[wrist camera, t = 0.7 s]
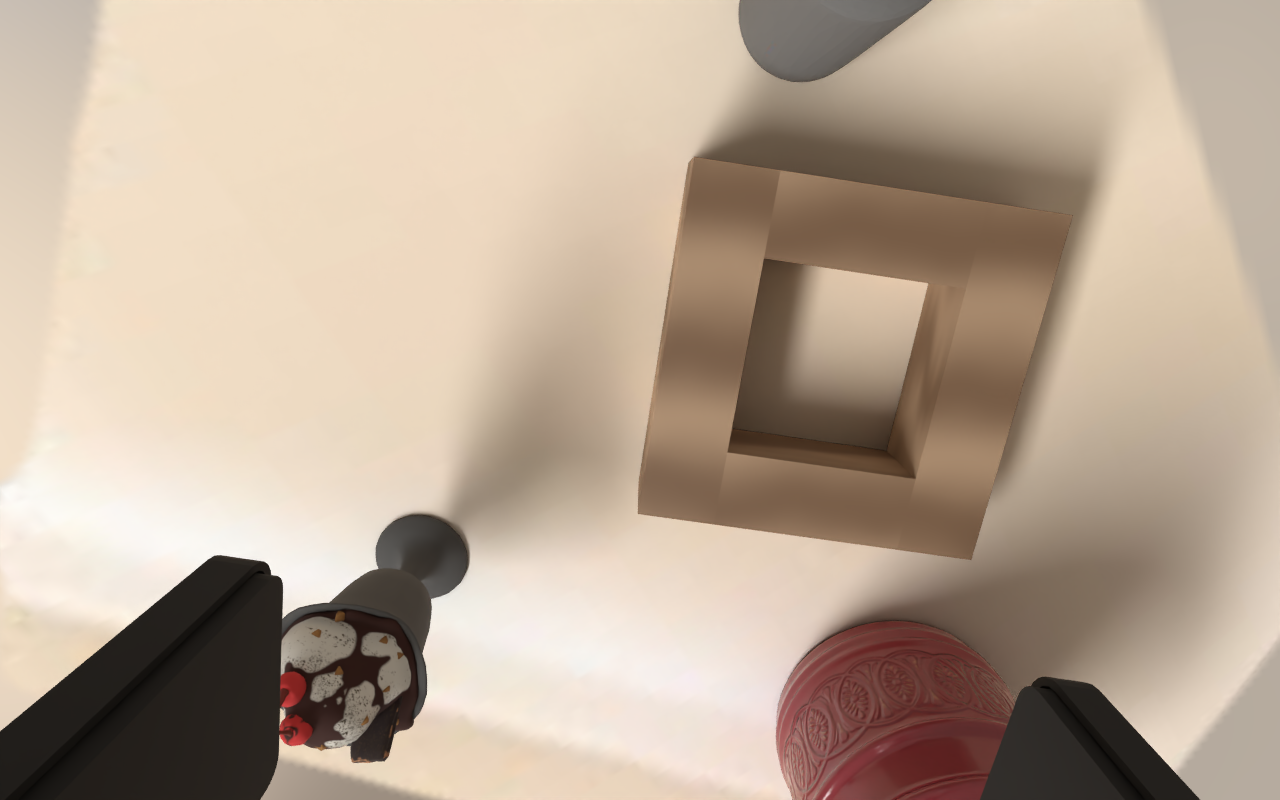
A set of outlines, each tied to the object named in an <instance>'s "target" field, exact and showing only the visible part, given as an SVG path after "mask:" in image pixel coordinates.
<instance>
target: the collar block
mask: <svg viewBox="0 0 1280 800" xmlns="http://www.w3.org/2000/svg"><path fill="white" fill-rule="evenodd" d="M1072 217H1073V215H1067V214H1061V213H1054V212H1048V211H1041V210H1035V209H1028V208H1022V207H1015V206H1009V205H1002V204H996V203H989V202H983V201H977V200H970V199H964V198H957V197H951V196H944V195H938V194H931V193H925V192H918V191H912V190H905V189H899V188H892V187H886V186H879V185H873V184H867V183H860V182H854V181H847V180H841V179H834V178H828V177H821V176H815V175H808V174H802V173H795V172H789V171H782V170H776V169H769V168H763V167H757V166H750V165H744V164H737V163H731V162H724V161H718V160H711V159H705V158H698V157H694V158H693V159H692V160H691V161H690V162H689V163H688V169H687V175H686V182H685V188H684V195H683V201H682V208H681V214H680V220H679V227H678V233H677V240H676V246H675V252H674V259H673V265H672V272H671V278H670V284H669V291H668V297H667V304H666V310H665V316H664V323H663V329H662V336H661V342H660V348H659V355H658V361H657V368H656V374H655V381H654V387H653V393H652V400H651V406H650V413H649V419H648V425H647V432H646V438H645V445H644V451H643V457H642V464H641V470H640V477H639V488H638V514H643V515H650V516H657V517H664V518H672V519H679V520H686V521H693V522H700V523H708V524H715V525H722V526H729V527H737V528H744V529H751V530H758V531H766V532H773V533H780V534H787V535H795V536H802V537H809V538H816V539H824V540H831V541H838V542H845V543H853V544H860V545H867V546H874V547H881V548H889V549H896V550H903V551H910V552H918V553H925V554H932V555H939V556H947V557H954V558H961V559H968V560H971V559H972V555H973V552H974V549H975V545H976V542H977V538H978V535H979V532H980V528H981V525H982V521H983V518H984V515H985V511H986V508H987V505H988V501H989V498H990V494H991V491H992V488H993V484H994V481H995V477H996V474H997V471H998V467H999V464H1000V461H1001V457H1002V454H1003V450H1004V447H1005V444H1006V440H1007V437H1008V433H1009V430H1010V427H1011V423H1012V420H1013V417H1014V413H1015V410H1016V406H1017V403H1018V400H1019V396H1020V393H1021V389H1022V386H1023V383H1024V379H1025V376H1026V373H1027V369H1028V366H1029V362H1030V359H1031V356H1032V352H1033V349H1034V345H1035V342H1036V339H1037V335H1038V332H1039V329H1040V325H1041V322H1042V318H1043V315H1044V312H1045V308H1046V305H1047V301H1048V298H1049V295H1050V291H1051V288H1052V285H1053V281H1054V278H1055V274H1056V271H1057V268H1058V264H1059V261H1060V257H1061V254H1062V251H1063V247H1064V244H1065V241H1066V237H1067V234H1068V230H1069V227H1070V224H1071V220H1072ZM764 258H765V259H772V260H778V261H785V262H792V263H798V264H805V265H812V266H818V267H825V268H831V269H838V270H845V271H851V272H858V273H865V274H871V275H878V276H885V277H891V278H898V279H905V280H911V281H918V282H925V283H929V284H928V288H927V292H926V296H925V300H924V304H923V308H922V312H921V316H920V320H919V324H918V328H917V332H916V336H915V340H914V344H913V348H912V352H911V356H910V360H909V364H908V368H907V372H906V376H905V380H904V384H903V388H902V392H901V396H900V400H899V404H898V408H897V412H896V416H895V420H894V424H893V428H892V432H891V436H890V440H889V444H888V448H887V451H885V450H878V449H871V448H864V447H857V446H850V445H843V444H836V443H829V442H822V441H815V440H808V439H801V438H794V437H787V436H780V435H773V434H766V433H759V432H752V431H745V430H738V429H732V425H733V420H734V415H735V409H736V404H737V399H738V393H739V388H740V383H741V377H742V372H743V367H744V362H745V356H746V351H747V346H748V340H749V335H750V330H751V324H752V319H753V314H754V309H755V303H756V298H757V293H758V287H759V282H760V277H761V271H762V266H763V261H764Z"/></svg>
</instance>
